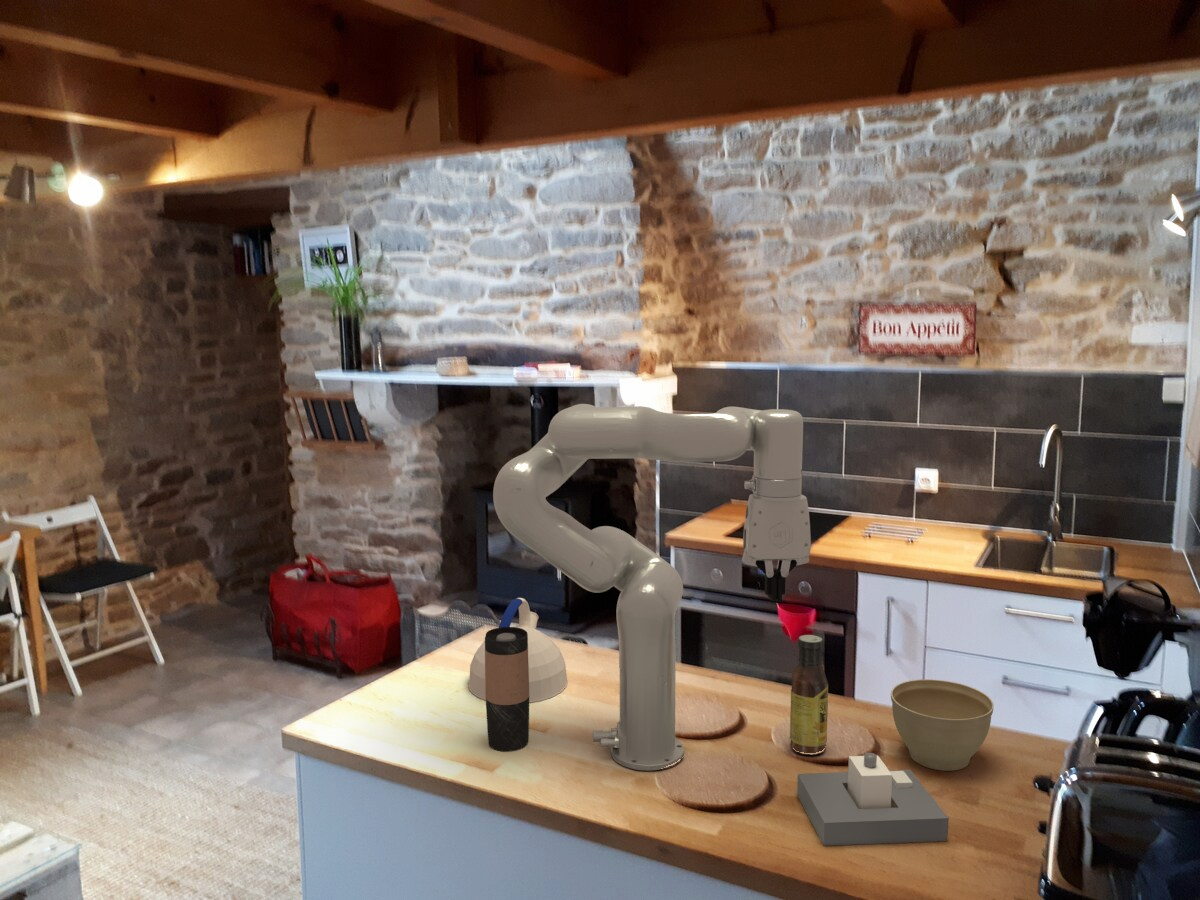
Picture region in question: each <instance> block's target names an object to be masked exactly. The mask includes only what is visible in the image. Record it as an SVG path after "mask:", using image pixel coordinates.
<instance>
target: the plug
mask: <svg viewBox="0 0 1200 900" xmlns="http://www.w3.org/2000/svg"><path fill="white" fill-rule="evenodd" d="M847 770H848V771H847V772H848V791H847V792H848V793H849V795H850V796H851V798H852V800H853V801H854V803H855V804H856V806H857V808H858V809H873V808H891V791H892V774H891V773H890V771H891V770H889V768H888V767H887V766H886V764H885V763H884V761H882V759H881V757H880V756H879V755H878V754H876V753H873V752H865V753H864V755H852V756H850V755H849V756H848V769H847Z"/></svg>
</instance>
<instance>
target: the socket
mask: <svg viewBox="0 0 1200 900" xmlns="http://www.w3.org/2000/svg"><path fill="white" fill-rule="evenodd" d="M889 771H890V773H891V774H892V791H891V808H873V809H858V808H857V806H856V804H855V803H854V801H853V800H852V798H851V796H850V795H849V793H848V792H847V791H848V771H843V772H842V771H840V772H839V771H837V772H836V771H835V772H811V773H809V772H808V773H807V772H806V773H797V781H796V782H797V784H796V785H797V787H796V789H797V792H796V795H797V797H798V799H799V801H800V803H801V805H802V806H803V809H804V810H805V812H806V814H807V816H808V819H809V820H810V822H811V824H812V826H813V827H814V830H815V832H816V833H817V836H818V837H819V839H820V841H821V844H822V845H823V846H824V847H827V846H850V845H852V846H853V845H874V844H875V845H876V844H877V845H878V844H900V843H901V844H903V843H925V842H927V843H928V842H948V838H949V821H950V820H949V817H948V815H947V814H946V813H945V811H944V810H943V809H942V807H940V805H939V804H938V802H937V801H936V800H935V799H934V798H933V796H932V795H931V794H930V793H929V792H928V790H927V789H926V787H924V785H923V784H922V782H920V780H919V779H918V777H917V776H916V775H915V774H914V773H913V771H912V770H911V769H896V770H889Z"/></svg>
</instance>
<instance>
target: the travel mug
mask: <svg viewBox="0 0 1200 900" xmlns="http://www.w3.org/2000/svg"><path fill="white" fill-rule="evenodd" d="M484 641H485V692H486V700H485V710H486V726H487V728H486V729H487V742H488V746H489V747H490V749H493V750H495V751H497V752H505V753H506V752H508V753H509V752H516V751H519V750H521V749H523V748H525V747H526V746H527V745H528V744H529V742H530V741H529V740H530V737H529V736H530V703H529V664H528V634H527V632H526V631H525V630H524V629H521V628H517V627H516V626H510V627H500V628H499V627H496V628H491V629H490V630H488V631H486V633H485V637H484Z"/></svg>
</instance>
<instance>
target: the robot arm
mask: <svg viewBox="0 0 1200 900" xmlns="http://www.w3.org/2000/svg"><path fill="white" fill-rule="evenodd" d="M803 419H804V418H803V415H802V414H801V413H800V412H799V411H796V410H793V409H782V408H780V409H779V408H776V409H775V408H773V409H772V408H771V409H764V410H760V409H753V408H748V407H747V408H746V407H742V406H741V407H740V406H726V407H725V406H724V407H722V408H721V409H718V410H717V411H716V412H715V413H713V412H712V413H671V412H663V411H659V410H656V409H654V408H651V407H647V406H637V405H636V406H616V407H615V406H614V407H613V406H611V407H607V406H606V407H599V406H595V405H592V404H589V403H588V404H587V403H577V404H575V405H574V404H573V405H572V406H570V407H567V408H564V409H562V410H560V411H559V412H558V413H556V414H555V415H554V416H553V417H552V419H551V420H550V423H549V425H548V430H547V433H546V434H545V435H544V436H543V437H542V438H541V439H540V440H539V441H538V442H537V443H536V444H535V445H534V446H532V447H531V449H529V450H528V451H526V452H524V453H522V454H520V455H517V456H516V457H514V458H512V459H510V460H509V461H508V462H506V463H505V464H504V465H503V466H502V467H501V468H500V470H499V471H498V474H497V476H496V477H495V481H494V484H493V491H492V493H493V494H492V497H493V498H492V500H493V505H494V509H495V513H496V516H497V518H498V519H499V521H500V523H501V524H502V525H503V527H504V528H505V530H507V531H508V533H510V534H511V536H513V537H514V538H515V539H517V540H518V541H519V542H520V543H521V544H524V545H525V546H526V547H528V548H529V549H530V550H532V551H533V552H535V553H536V554H538V555H539V556H540V557H542V558H543V559H544V560H545V561H546V562H547V563H549V564H550V565H551V566H553V567H554V568H555V569H557V570H558V571H560V572H561V573H562V574H564V575H565V576H567V578H569V579H570V580H572V581H573V582H574V583H575V584H577V585H578V586H579V587H581V588H582V589H583V590H586V591H588V592H591V593H596V594H597V593H599V594H600V593H604V592H607V591H608V590H610V589H611V588H613V587H614V588H615V589H617V590H618V591H619V592H620V593H619V596H618V599H617V604H616V614H615V615H616V626H617V627H616V628H617V635H618V637H617V638H618V658H619V659H618V660H619V661H618V664H619V667H618V668H619V722H618V721H617V722H616V727H614V728H610V730H601V729H600V730H598V729H596V730H592V743H600V748H609V747H610V756H611V758H613V760H614V761H615V762H616V763H618V764H619V765H621V766H623V767H626V768H628V769H632V770H637V771H646V772H647V771H648V772H649V771H659V769H661V768H664V767H666V766H668V765H671V764H673V763H675V762H677V761H678V760H679V759H681V758H682V757H683V756H684V755H685V747H684V744H683V743H682V742H681V740H679V739H678V738H676V675H677V674H676V671H677V670H676V669H677V668H676V659H677V658H676V655H677V654H676V635H675V634H676V632H675V619H676V612H677V610H678V608H679V605H680V603H681V601H682V598H683V594H684V585H683V580H682V577H681V575H680V574H679V572H678V570H677V569H676V568H675V567H674V566H673V565H671V563H669V562H668V561H666V560H665V559H664V558H662V557H661V556H659V555H658V554H657V553H655V552H654V551H653V550H652V549H650V548H648V547H647V546H645V544H643V543H642V542H640V541H639V540H637V539H636V538H635V537H633V535H630V534H629V533H627V532H626V531H624V530H623V529H622V530H621V529H620V528H617V527H614V526H609V525H603V526H597V527H595V528H593V529H590V528H589V527H587V526H585V525H583V524H582V523H581V522H580V521H578V520H577V519H575V518H574V517H573V516H572V515H570V514H568V513H567V512H565V511H564V510H561V509H559V508H557V507H555V506H553V505H552V504H550V503H549V502H548V500H547V499H546V498H547V497H549V496H550V495H551V494H553V493H554V492H556V491H557V490H558V489H559V488H561V486H562V485H563V484H565V483H566V481H568V480H569V478H571V476H572V475H574V473H576V471H578V469H580V468H581V467H582V466H583V465H584V464H585V462H587V460H589V459H594V460H595V459H599V460H601V459H644V460H650V461H666V462H667V461H668V462H680V463H681V462H682V463H683V462H684V463H685V462H686V463H689V462H690V463H697V462H698V463H701V462H702V463H703V462H704V463H706V462H710V463H713V462H717V463H718V462H719V463H720V462H728V461H733V460H736V459H739V458H740V457H741V456H743V454H745V453H746V452H747V451H753V475H752V476H751V477H752V478H751V479H749V480H744V485H743V486H744V487H743V488H744V489H745V490H750V491H751V492H752V493H751V494H749V497H748V500H747V504H746V509H745V516H744V517H745V518H744V524H743V536H742V537H743V539H742V543H743V544H742V547H743V554H742V557H741V561H742V563H743V564H744V565H747V566H751V567H755V568H756V567H757V568H758V569H759V570H760V571H761V572H762V573H763V574H764V594H765V595H766V596H767V598H769V600H770V601H771V602H777V601H778V602H782V601H783V595H785V594H786V578H787V577H789V573H790V572H791V571H792V570H793V569H794V568H795V567H796V566H800V565H801V566H802V565H805V564H808V563H809V562H810V555H811V549H812V548H811V546H812V543H811V541H812V540H811V538H812V537H811V521H810V510H809V504H808V498H807V496H805V495H804V494H802V487H803V486H802V481H803V480H802V479H803V478H802V475H803V447H804V446H803V444H804V443H803V441H804V420H803ZM773 561H777V565H776V569H775V572H774V565H773ZM684 757H685V756H684ZM684 757H683V758H684Z"/></svg>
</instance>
